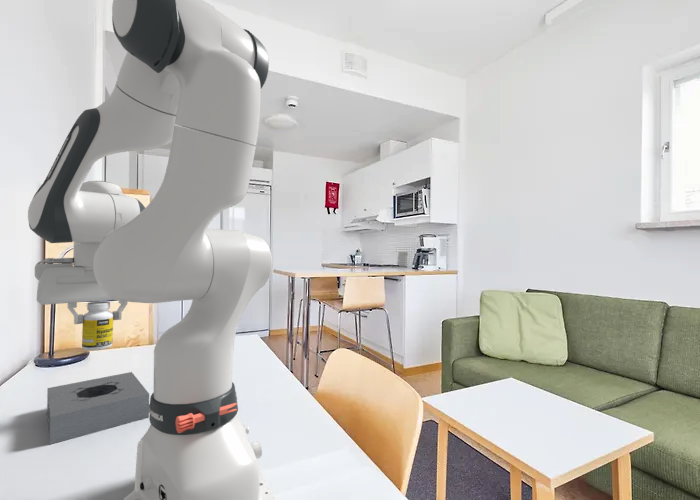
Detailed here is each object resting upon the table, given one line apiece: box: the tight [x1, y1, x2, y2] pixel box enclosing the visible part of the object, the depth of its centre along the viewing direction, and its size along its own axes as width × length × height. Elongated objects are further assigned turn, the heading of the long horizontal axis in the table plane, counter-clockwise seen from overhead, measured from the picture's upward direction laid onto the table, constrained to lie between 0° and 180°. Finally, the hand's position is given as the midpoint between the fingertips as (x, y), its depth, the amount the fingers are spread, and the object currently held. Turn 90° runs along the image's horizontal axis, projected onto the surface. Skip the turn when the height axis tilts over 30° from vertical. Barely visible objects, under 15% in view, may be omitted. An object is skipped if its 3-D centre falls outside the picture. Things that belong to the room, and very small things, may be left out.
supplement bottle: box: [81, 300, 114, 352], centre depth 76 cm, size 5×5×10 cm
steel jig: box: [46, 371, 150, 445], centre depth 76 cm, size 18×16×5 cm
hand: (98, 321), depth 76 cm, fingers closed on supplement bottle, 5 cm apart
